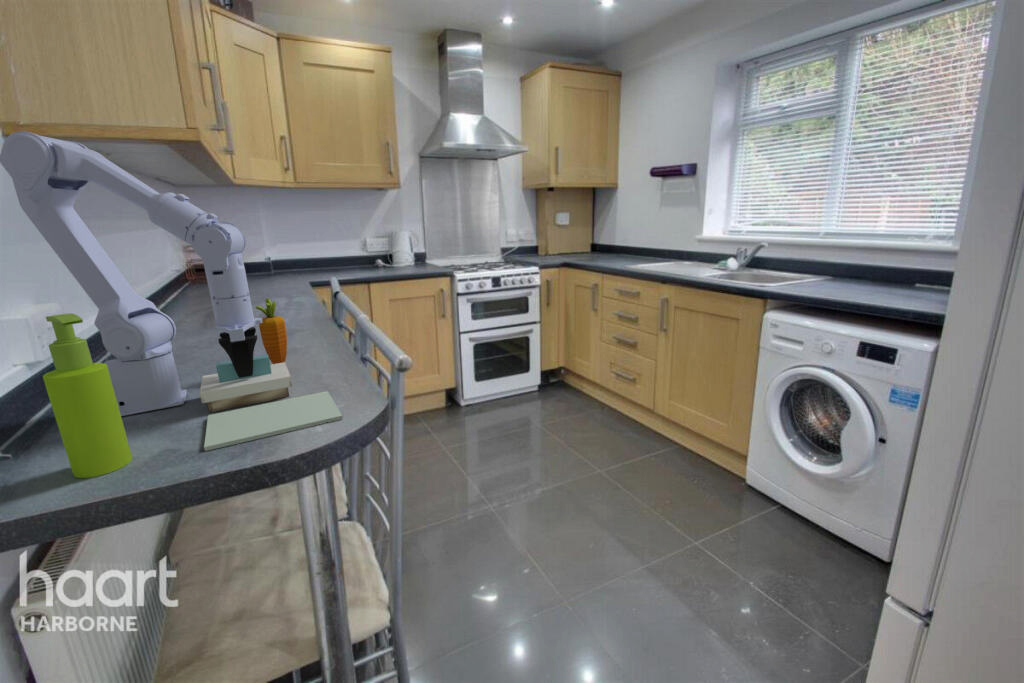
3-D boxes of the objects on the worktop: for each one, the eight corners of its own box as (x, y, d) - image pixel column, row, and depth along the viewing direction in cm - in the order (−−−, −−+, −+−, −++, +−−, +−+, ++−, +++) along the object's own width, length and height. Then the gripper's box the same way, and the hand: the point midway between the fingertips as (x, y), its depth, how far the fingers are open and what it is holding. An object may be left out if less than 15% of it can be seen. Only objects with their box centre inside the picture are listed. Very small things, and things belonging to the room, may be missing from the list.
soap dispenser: (86, 485, 56) (36, 322, 51) (66, 471, 60) (17, 317, 55) (143, 463, 61) (103, 312, 56) (121, 451, 65) (81, 308, 60)
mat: (204, 451, 64) (204, 447, 63) (208, 418, 74) (208, 415, 74) (342, 419, 72) (342, 415, 72) (328, 394, 83) (327, 391, 83)
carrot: (286, 373, 96) (273, 301, 92) (262, 374, 96) (248, 301, 92) (297, 366, 101) (286, 296, 97) (274, 366, 101) (262, 297, 97)
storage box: (209, 412, 77) (205, 395, 76) (211, 396, 85) (208, 380, 84) (289, 396, 83) (286, 380, 82) (284, 382, 90) (282, 367, 90)
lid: (201, 403, 76) (195, 375, 74) (204, 385, 84) (199, 359, 83) (292, 386, 82) (287, 359, 81) (286, 371, 91) (282, 347, 89)
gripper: (259, 298, 75) (273, 379, 78) (255, 289, 87) (268, 359, 91) (207, 304, 72) (224, 388, 75) (210, 293, 84) (225, 365, 87)
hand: (245, 372), depth 83 cm, fingers open, 4 cm apart
